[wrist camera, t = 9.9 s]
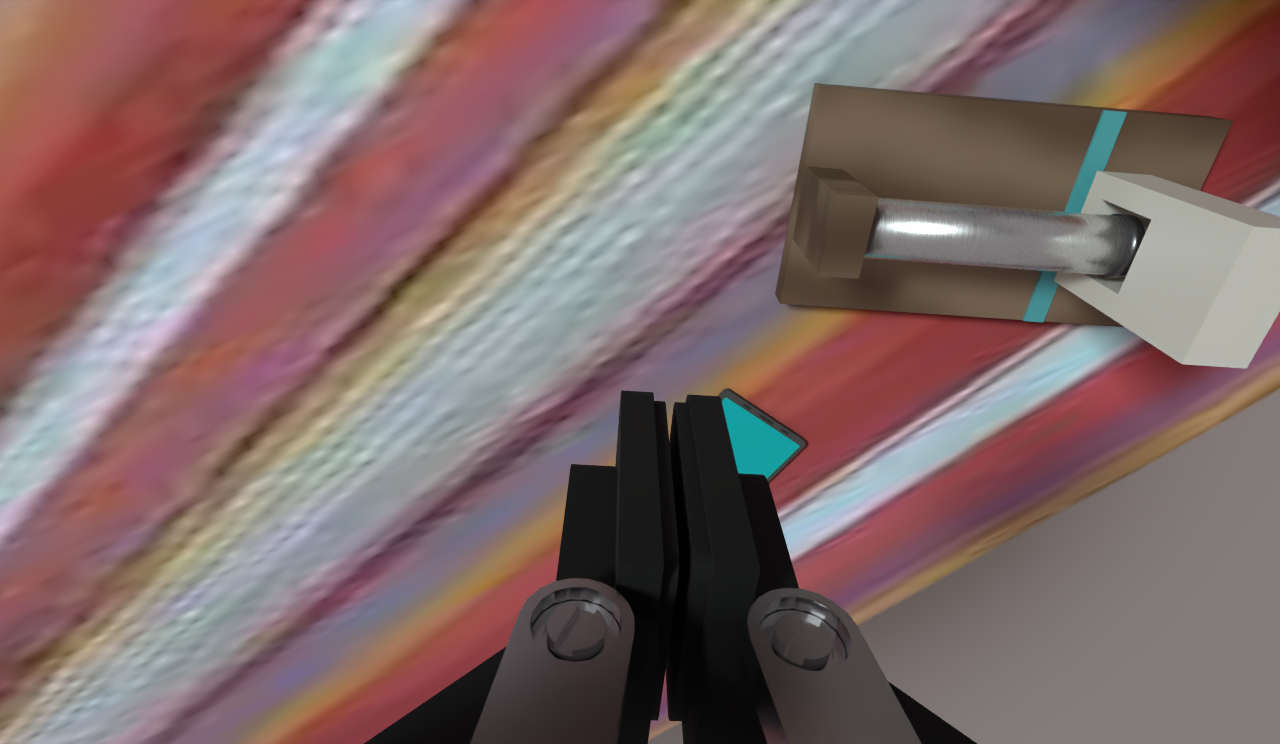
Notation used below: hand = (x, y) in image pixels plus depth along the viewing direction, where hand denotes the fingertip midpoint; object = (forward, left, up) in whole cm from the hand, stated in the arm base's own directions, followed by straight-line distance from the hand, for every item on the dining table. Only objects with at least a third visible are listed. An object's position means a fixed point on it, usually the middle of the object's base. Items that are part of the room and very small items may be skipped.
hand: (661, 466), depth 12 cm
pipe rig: (+2, +20, -29) cm, 35 cm away
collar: (+2, +26, -27) cm, 37 cm away
